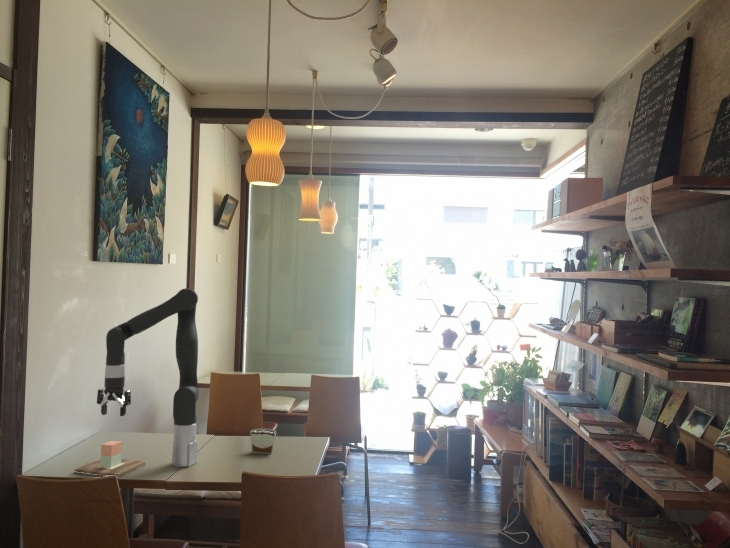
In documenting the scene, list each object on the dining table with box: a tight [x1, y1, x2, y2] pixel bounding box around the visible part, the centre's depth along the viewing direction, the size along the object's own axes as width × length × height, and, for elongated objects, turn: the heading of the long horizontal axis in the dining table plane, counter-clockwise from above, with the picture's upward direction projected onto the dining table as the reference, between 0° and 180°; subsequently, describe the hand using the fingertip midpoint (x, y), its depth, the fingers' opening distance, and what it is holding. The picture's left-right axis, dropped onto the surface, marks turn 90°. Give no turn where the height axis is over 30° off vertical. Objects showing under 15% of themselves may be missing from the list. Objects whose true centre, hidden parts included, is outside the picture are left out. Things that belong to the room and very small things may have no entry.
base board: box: [74, 457, 146, 478], centre depth 217 cm, size 20×17×2 cm
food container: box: [249, 427, 277, 455], centre depth 249 cm, size 12×6×10 cm, turn 84°
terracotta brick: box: [100, 440, 123, 457], centre depth 217 cm, size 5×6×4 cm
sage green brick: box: [100, 453, 122, 468], centre depth 217 cm, size 5×6×4 cm
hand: (113, 415), depth 218 cm, fingers open, 8 cm apart
